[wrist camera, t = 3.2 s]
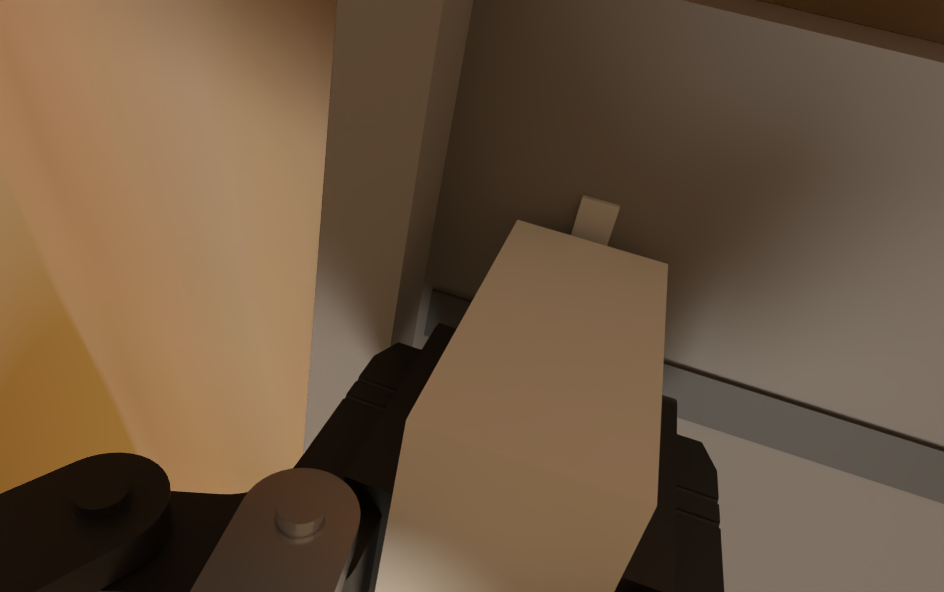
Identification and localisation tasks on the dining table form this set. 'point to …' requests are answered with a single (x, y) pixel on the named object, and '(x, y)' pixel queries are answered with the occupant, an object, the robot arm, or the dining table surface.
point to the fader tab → (535, 427)
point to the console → (675, 238)
